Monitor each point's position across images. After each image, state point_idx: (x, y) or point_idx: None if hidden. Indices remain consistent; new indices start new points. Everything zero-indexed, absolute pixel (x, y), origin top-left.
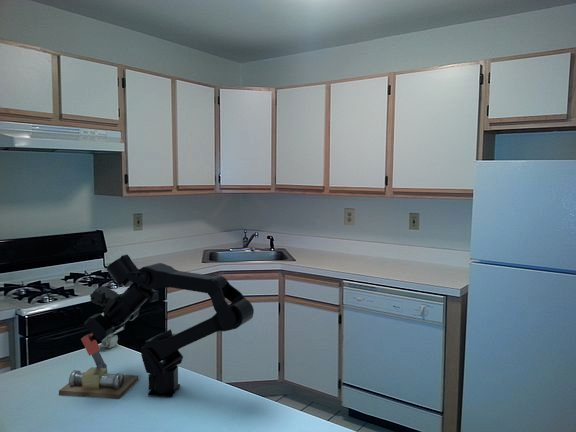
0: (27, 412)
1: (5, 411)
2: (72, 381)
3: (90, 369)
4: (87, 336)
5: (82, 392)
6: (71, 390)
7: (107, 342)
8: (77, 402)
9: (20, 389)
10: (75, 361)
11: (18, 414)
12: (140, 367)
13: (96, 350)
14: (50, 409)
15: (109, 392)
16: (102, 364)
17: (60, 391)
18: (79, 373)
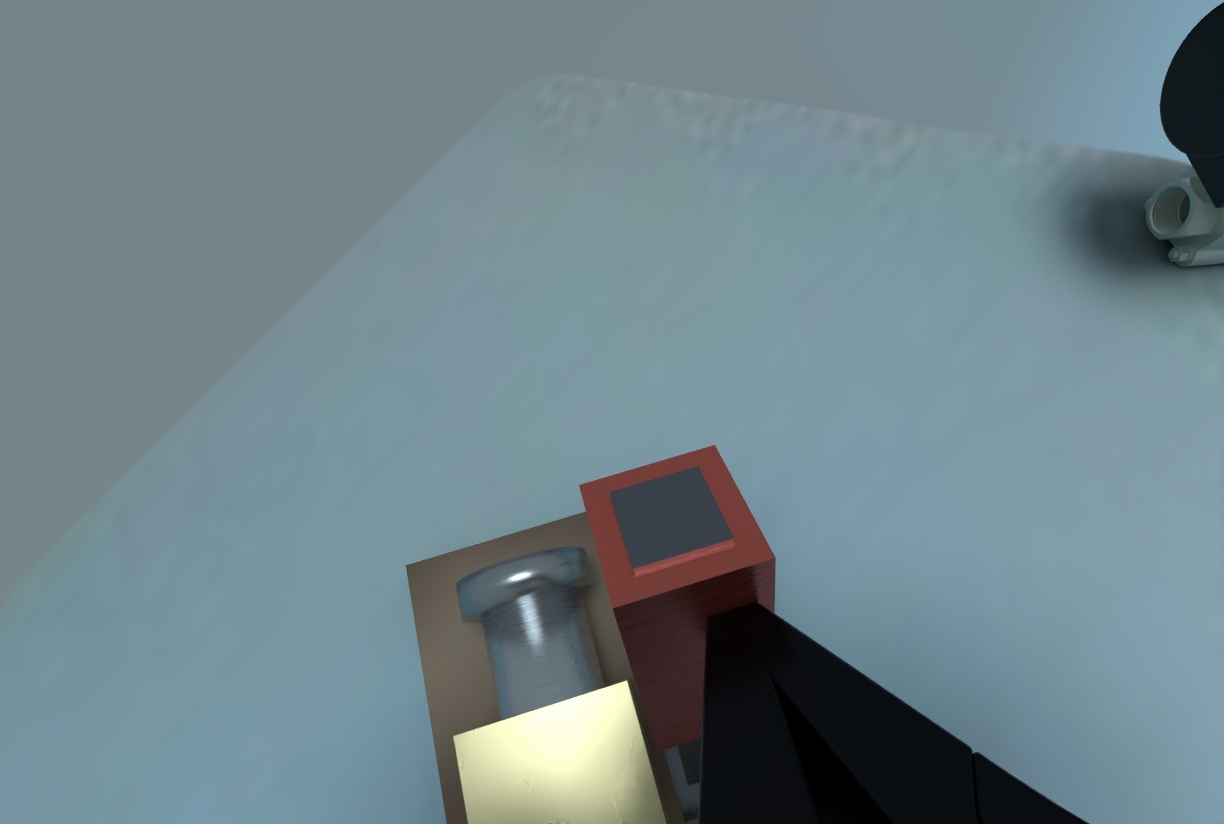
0: (163, 586)
1: (155, 450)
2: (464, 621)
3: (577, 721)
4: (614, 600)
5: (440, 776)
6: (435, 658)
7: (1200, 221)
8: (362, 813)
9: (410, 287)
10: (861, 239)
11: (131, 555)
12: (1127, 815)
13: (681, 735)
14: (225, 701)
15: None
16: (696, 790)
17: (411, 578)
18: (522, 630)
